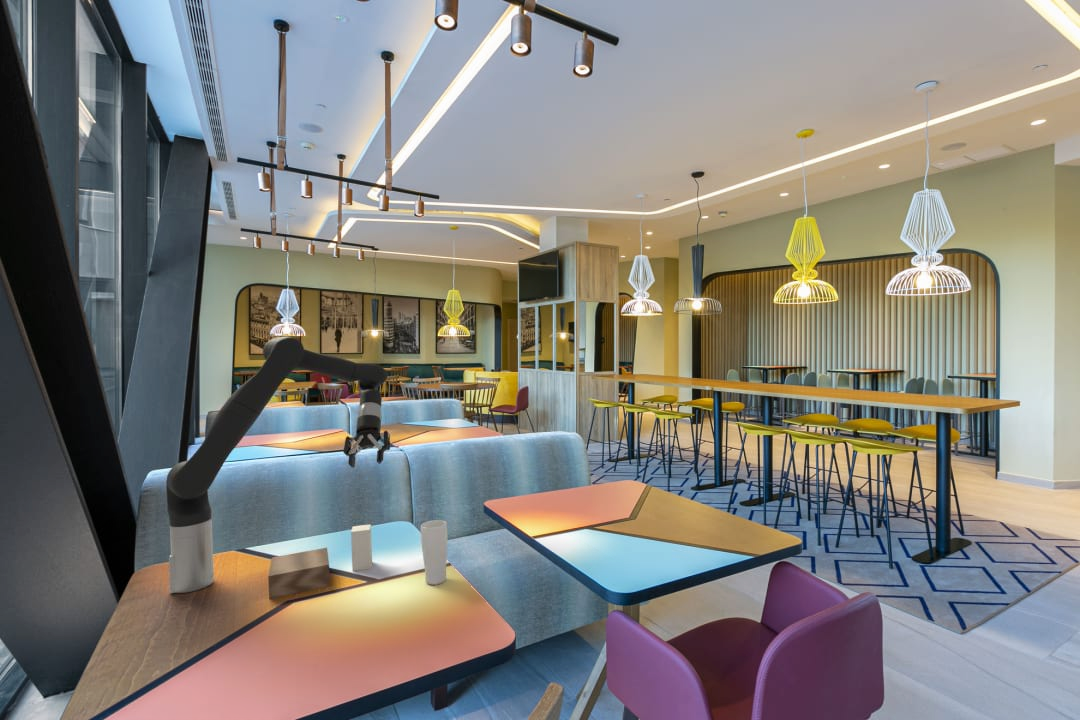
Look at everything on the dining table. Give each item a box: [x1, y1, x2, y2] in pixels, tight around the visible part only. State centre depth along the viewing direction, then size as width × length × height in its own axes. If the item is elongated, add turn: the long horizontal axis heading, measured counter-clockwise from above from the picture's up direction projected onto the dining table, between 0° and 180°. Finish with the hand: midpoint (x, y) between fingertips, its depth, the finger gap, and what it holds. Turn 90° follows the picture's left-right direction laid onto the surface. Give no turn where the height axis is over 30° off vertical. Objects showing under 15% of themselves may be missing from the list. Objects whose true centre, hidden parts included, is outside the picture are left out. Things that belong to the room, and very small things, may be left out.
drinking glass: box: [420, 519, 448, 586], centre depth 130 cm, size 7×7×15 cm
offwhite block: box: [350, 524, 373, 572], centre depth 142 cm, size 5×5×11 cm
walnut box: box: [267, 547, 331, 600], centre depth 134 cm, size 14×14×6 cm
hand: (365, 464), depth 156 cm, fingers open, 8 cm apart
